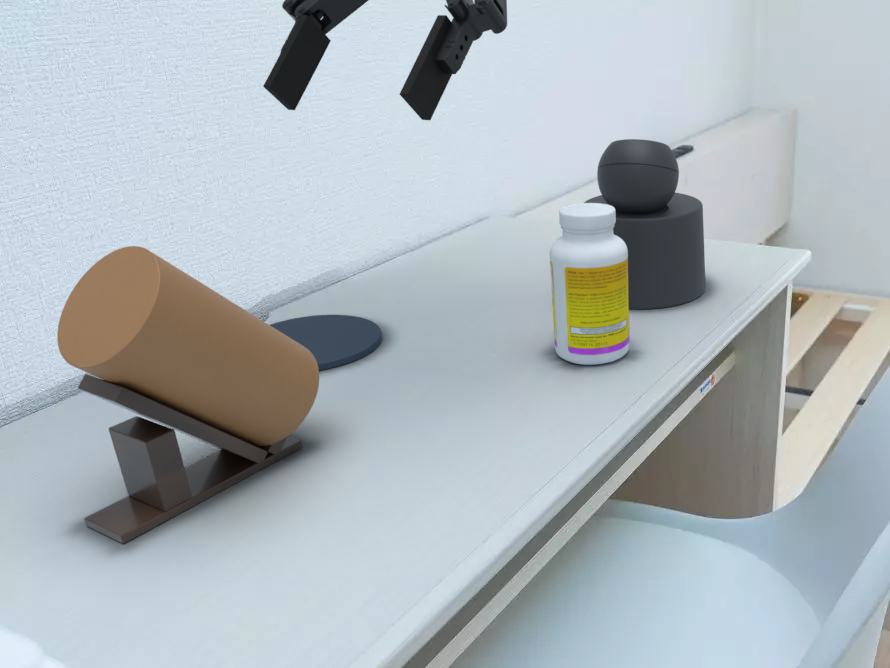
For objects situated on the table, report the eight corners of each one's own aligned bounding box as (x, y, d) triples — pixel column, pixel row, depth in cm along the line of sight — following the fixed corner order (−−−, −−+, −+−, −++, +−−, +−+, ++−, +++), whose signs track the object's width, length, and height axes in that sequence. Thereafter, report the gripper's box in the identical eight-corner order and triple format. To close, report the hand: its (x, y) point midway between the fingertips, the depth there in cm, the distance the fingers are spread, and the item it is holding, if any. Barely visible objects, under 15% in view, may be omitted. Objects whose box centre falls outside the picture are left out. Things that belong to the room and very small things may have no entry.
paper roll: (82, 494, 58) (7, 262, 51) (275, 402, 69) (234, 203, 63) (157, 529, 54) (86, 283, 47) (348, 425, 65) (313, 216, 59)
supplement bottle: (644, 355, 78) (644, 210, 73) (581, 374, 75) (575, 223, 70) (601, 333, 84) (597, 195, 78) (540, 349, 80) (532, 207, 75)
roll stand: (85, 525, 56) (41, 390, 52) (269, 433, 67) (244, 314, 63) (123, 544, 54) (79, 404, 50) (306, 445, 65) (282, 324, 61)
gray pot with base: (718, 121, 93) (699, 146, 81) (713, 268, 100) (696, 312, 88) (594, 120, 96) (557, 144, 84) (598, 263, 103) (564, 305, 91)
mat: (205, 356, 81) (203, 350, 81) (315, 312, 91) (314, 306, 91) (303, 385, 75) (302, 378, 74) (410, 334, 84) (410, 328, 84)
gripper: (617, -97, 66) (508, 147, 61) (371, -79, 78) (264, 125, 73) (574, -191, 59) (449, 72, 54) (314, -156, 71) (192, 62, 67)
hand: (343, 103), depth 64 cm, fingers open, 13 cm apart
